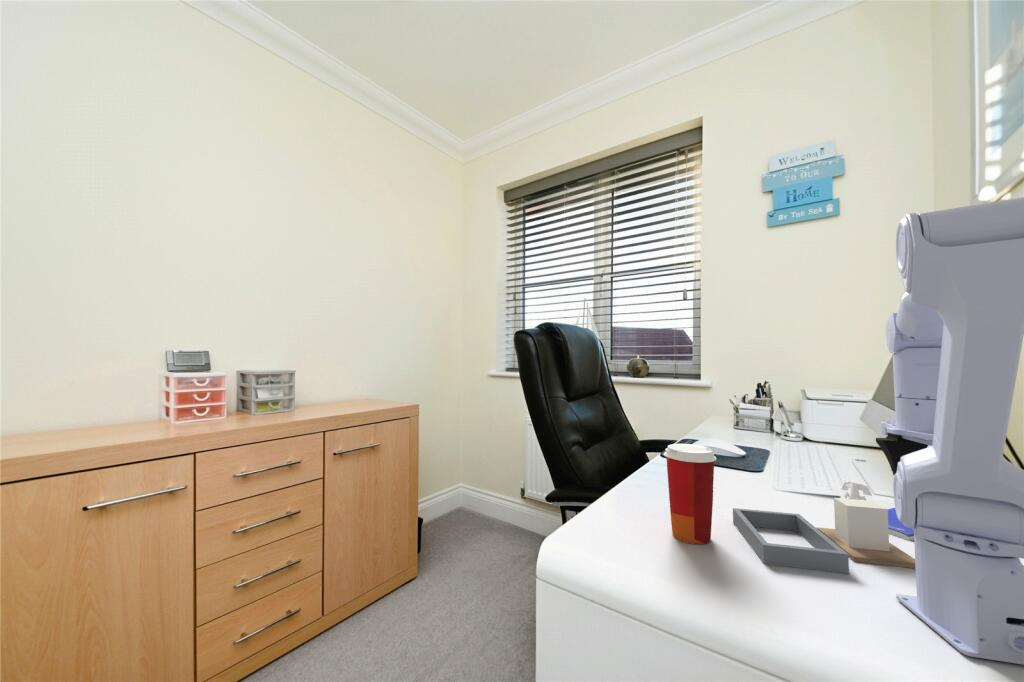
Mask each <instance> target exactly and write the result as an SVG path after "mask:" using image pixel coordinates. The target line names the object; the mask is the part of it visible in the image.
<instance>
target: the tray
mask: <svg viewBox="0 0 1024 682" xmlns="http://www.w3.org/2000/svg"><path fill="white" fill-rule="evenodd" d="M732 523H733V524H734V526H735V527H736V529H737V530H738V531H739V532H740V533H741V535H742V536H743V538H744V539H745V540H746V541H747V544H749V546H750V547H751V549H752V550H753V552H754V553H755V554H756V555H757V556H758V558H759V559H760V561H762V563H763V564H764V565H765V564H767V565H775V566H783V567H791V568H800V569H807V570H816V571H822V572H823V571H824V572H831V573H840V574H841V573H842V574H850V562H849V559H850V558H849V557H848V554H847V553H846V552H845V551H844V550H842V549H841V548H840V547H839V546H838V545H836V544H835V543H834V542H833V541H831V540H830V539H829V538H828V537H827V536H825V535H824V534H823V533H822V532H820V531H819V530H818V529H817V527H816V526H814V525H813V524H812V523H810V521H808V520H807V519H806V518H805V517H803V516H802V515H801V514H800V513H793V512H792V513H791V512H780V511H772V510H771V511H769V510H759V509H747V508H736V507H733V508H732ZM755 527H756V528H766V529H774V530H784V531H786V530H787V531H794V532H797V534H799V535H800V536H801V537H802V538H803V539H804V540H806V541H807V543H809V544H810V545H811V546H812V547H806V546H798V545H789V544H780V543H771V542H767V541H766V539H765V538H764V537H763V536H762V535H761V534H760V532H759V531H758V530H757V529H756V528H755Z"/></svg>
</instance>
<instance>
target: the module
mask: <svg viewBox="0 0 1024 682" xmlns="http://www.w3.org/2000/svg"><path fill="white" fill-rule="evenodd" d="M888 509H889V508H886V507H885V506H883V505H881V504H879V503H877V502H875V501H873V500H868V499H866V500H856V499H849V498H848V499H846V498H842V497H841V498H840V497H833V510H834V513H833V514H834V529H835V537H836V538H838V539H839V540H840V541H842V542H843V543H844V544H845V545H847V546H848V547H853V548H863V549H872V550H882V551H889V543H890V534H889V529H888Z"/></svg>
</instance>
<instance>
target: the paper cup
mask: <svg viewBox="0 0 1024 682" xmlns="http://www.w3.org/2000/svg"><path fill="white" fill-rule="evenodd" d="M663 456H664V457H666V469H667V485H668V497H669V499H668V501H669V512H670V521H671V524H670V525H671V532H672V536H673V537H674V538H675V539H677V540H679V541H681V542H683V543H687V544H691V545H707V544H709V543H710V542H711V538H712V526H713V525H712V524H713V523H712V522H713V505H714V475H715V462H716V461H717V457H716V456H715V454H714V451H713V450H712V449H711V448H710V447H707V446H704V445H700V444H698V445H697V444H690V443H672V444H668V445H667V448H665V452H664V453H663Z"/></svg>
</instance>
